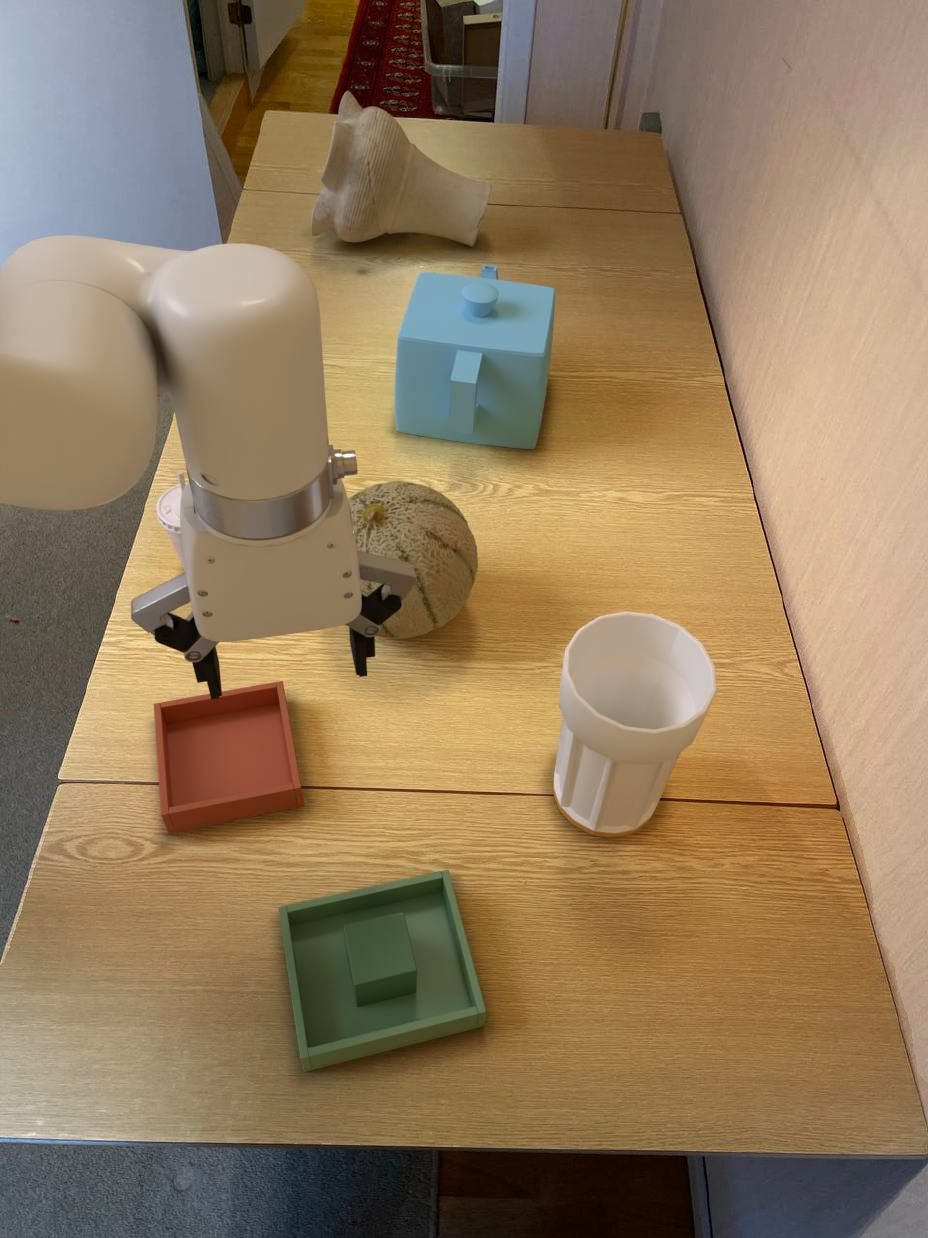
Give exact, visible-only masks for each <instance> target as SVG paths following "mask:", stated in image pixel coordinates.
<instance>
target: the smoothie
mask: <svg viewBox="0 0 928 1238" xmlns="http://www.w3.org/2000/svg"><path fill="white" fill-rule="evenodd" d="M176 475H177V476H176V477H177V479H178V484H176V485H174V486H172V487H170V488H168V489H167V490H166V491H164V492H163V493H162V494H161V495H160V497H159V498H158V500H157V502H156V506H155V507H156V513H157V520H158V522H159V524H160V525H161V526H162V527H163V528H164V529H165V530H166V532H167V535H168V536H169V538H170V541H171V543H172V545H173V548H174V550H175V552H176V554H177V556H178V559H179V561H180V563H181V565H182V568H183V570H184V572H186V570H185V563H184V556H183V548H182V539H181V528H180V504H181V495H182V491H183V489H184V488H185V486H186V485H187V484H188V483H189V481H188V482H186V478H185V475H184V471H183V470H182V469H179V470H177V471H176Z"/></svg>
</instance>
